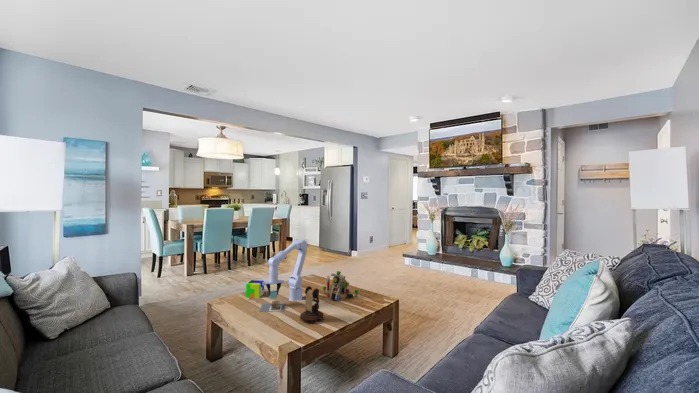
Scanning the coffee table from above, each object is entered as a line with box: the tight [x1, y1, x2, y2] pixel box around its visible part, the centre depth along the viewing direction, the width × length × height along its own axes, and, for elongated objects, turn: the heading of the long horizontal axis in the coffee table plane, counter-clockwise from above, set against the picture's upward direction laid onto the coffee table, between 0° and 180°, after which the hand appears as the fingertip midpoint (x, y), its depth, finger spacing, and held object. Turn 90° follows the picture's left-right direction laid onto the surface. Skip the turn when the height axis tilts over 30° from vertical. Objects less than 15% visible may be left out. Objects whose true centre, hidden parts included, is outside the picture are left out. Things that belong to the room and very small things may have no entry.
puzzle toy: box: [245, 279, 265, 299], centre depth 232 cm, size 10×10×10 cm
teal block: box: [269, 289, 278, 300], centre depth 210 cm, size 4×4×4 cm
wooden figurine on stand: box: [299, 285, 324, 325], centre depth 191 cm, size 15×15×20 cm
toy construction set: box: [322, 270, 359, 302], centre depth 234 cm, size 27×22×21 cm
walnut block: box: [270, 300, 281, 310], centre depth 206 cm, size 5×5×4 cm
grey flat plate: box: [259, 302, 286, 313], centre depth 207 cm, size 16×14×1 cm
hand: (273, 294), depth 210 cm, fingers closed on teal block, 4 cm apart
